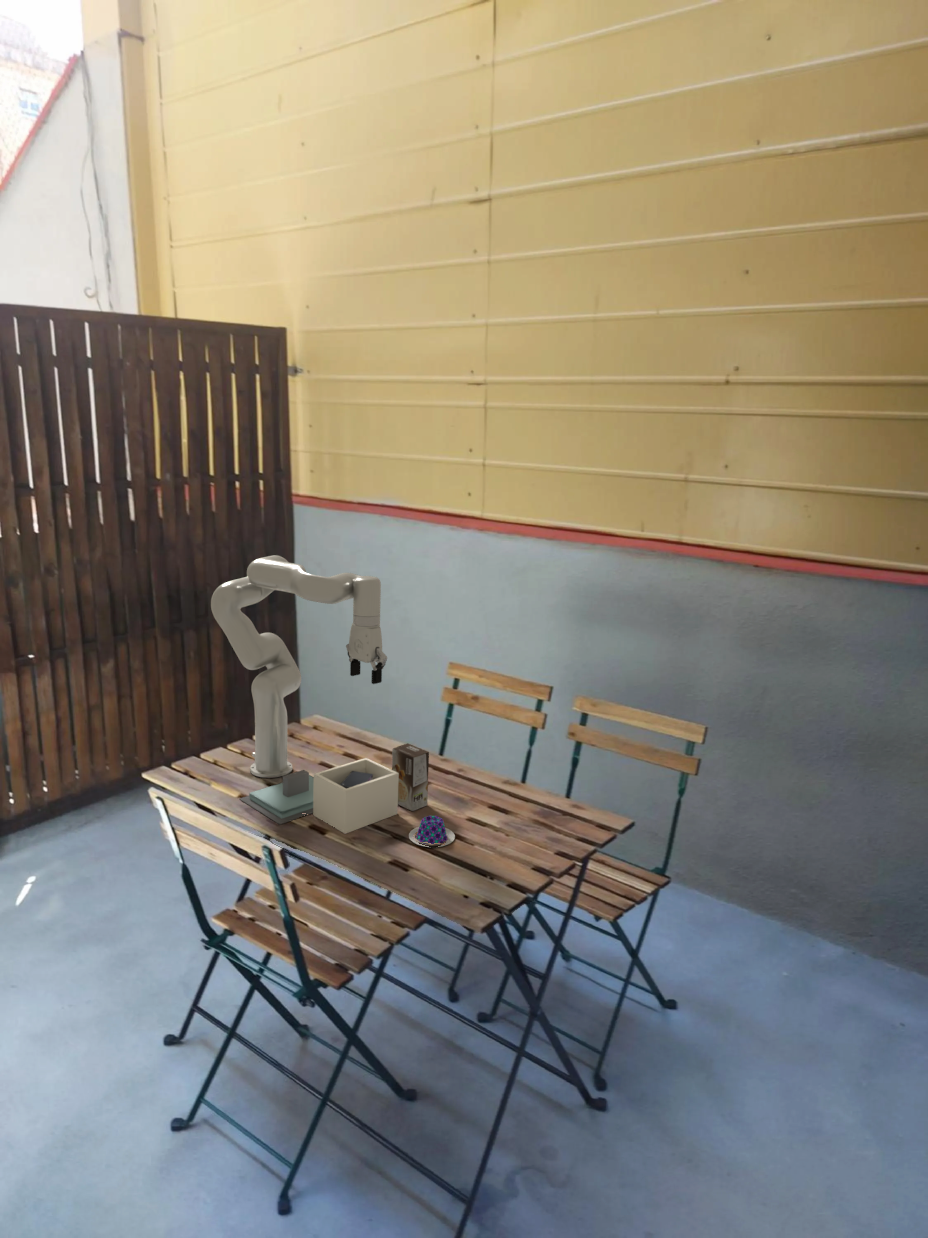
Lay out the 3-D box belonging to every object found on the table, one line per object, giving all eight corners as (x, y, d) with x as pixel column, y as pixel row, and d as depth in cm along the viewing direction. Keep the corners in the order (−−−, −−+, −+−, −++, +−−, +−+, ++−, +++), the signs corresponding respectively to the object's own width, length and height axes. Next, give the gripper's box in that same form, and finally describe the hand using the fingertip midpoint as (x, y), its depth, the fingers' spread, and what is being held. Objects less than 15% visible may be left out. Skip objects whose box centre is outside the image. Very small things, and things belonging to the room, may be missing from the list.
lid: (249, 798, 232) (249, 774, 231) (308, 780, 246) (308, 757, 245) (281, 818, 221) (281, 793, 220) (341, 798, 235) (342, 774, 234)
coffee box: (428, 805, 234) (430, 751, 231) (412, 812, 230) (414, 757, 226) (406, 794, 240) (408, 742, 237) (389, 801, 236) (391, 748, 232)
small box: (360, 825, 221) (361, 788, 219) (337, 821, 222) (338, 785, 220) (372, 808, 231) (373, 773, 229) (350, 805, 232) (351, 770, 230)
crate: (313, 815, 225) (313, 773, 222) (365, 797, 238) (366, 757, 235) (344, 833, 215) (345, 791, 213) (397, 814, 228) (398, 773, 225)
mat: (239, 799, 232) (239, 798, 232) (310, 777, 249) (310, 776, 249) (279, 824, 219) (279, 823, 218) (352, 799, 235) (352, 798, 235)
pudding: (406, 828, 221) (407, 810, 220) (451, 827, 223) (452, 809, 221) (410, 850, 209) (411, 831, 208) (457, 849, 211) (458, 830, 210)
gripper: (337, 616, 236) (336, 674, 239) (375, 628, 224) (374, 688, 228) (358, 613, 241) (357, 670, 245) (396, 624, 229) (395, 683, 233)
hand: (365, 679), depth 236 cm, fingers open, 9 cm apart
